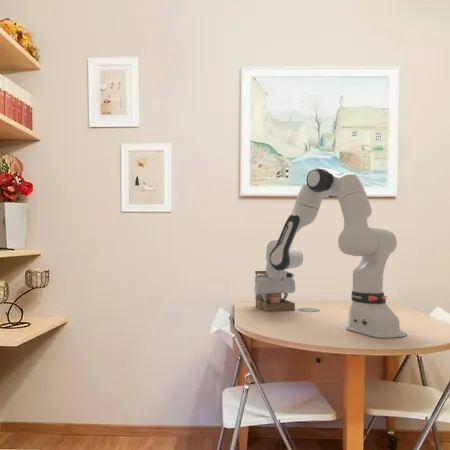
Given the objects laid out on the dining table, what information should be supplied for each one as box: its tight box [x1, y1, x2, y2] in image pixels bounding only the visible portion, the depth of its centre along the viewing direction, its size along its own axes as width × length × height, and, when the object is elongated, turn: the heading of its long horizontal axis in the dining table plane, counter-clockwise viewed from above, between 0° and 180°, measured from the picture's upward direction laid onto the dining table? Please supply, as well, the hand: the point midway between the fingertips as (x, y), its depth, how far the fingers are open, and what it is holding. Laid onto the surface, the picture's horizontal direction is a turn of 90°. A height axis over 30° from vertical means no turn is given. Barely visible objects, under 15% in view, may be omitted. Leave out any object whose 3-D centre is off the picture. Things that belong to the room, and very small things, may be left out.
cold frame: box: [254, 270, 296, 313], centre depth 199 cm, size 15×14×18 cm
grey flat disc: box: [298, 307, 321, 313], centre depth 195 cm, size 10×10×1 cm
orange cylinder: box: [270, 293, 280, 304], centre depth 198 cm, size 5×5×7 cm
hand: (274, 302), depth 198 cm, fingers open, 8 cm apart
